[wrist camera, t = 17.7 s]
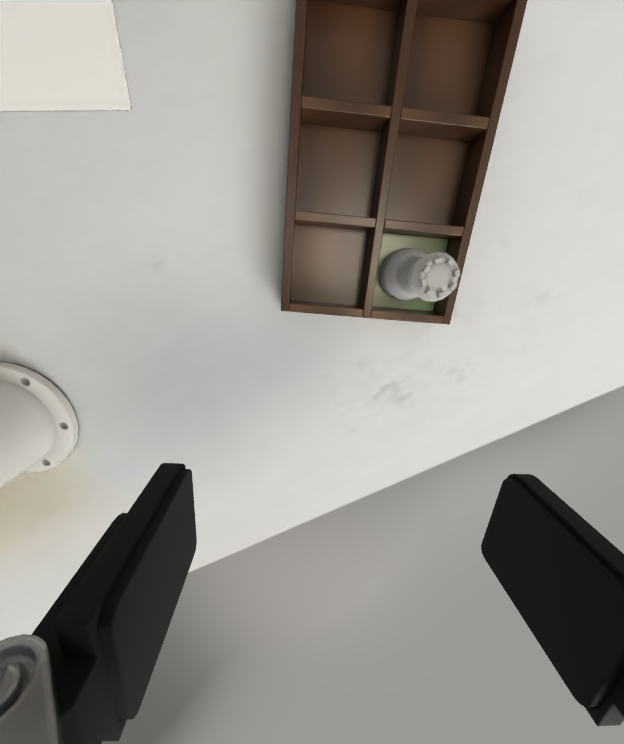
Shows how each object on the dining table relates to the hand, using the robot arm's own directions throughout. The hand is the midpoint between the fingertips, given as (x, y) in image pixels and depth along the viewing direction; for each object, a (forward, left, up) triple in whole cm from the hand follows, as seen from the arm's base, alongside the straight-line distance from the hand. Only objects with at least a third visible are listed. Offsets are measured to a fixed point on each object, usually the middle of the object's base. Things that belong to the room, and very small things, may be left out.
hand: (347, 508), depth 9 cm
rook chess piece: (+7, +7, -22) cm, 24 cm away
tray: (+4, +14, -22) cm, 26 cm away
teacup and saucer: (-27, +26, -22) cm, 44 cm away
